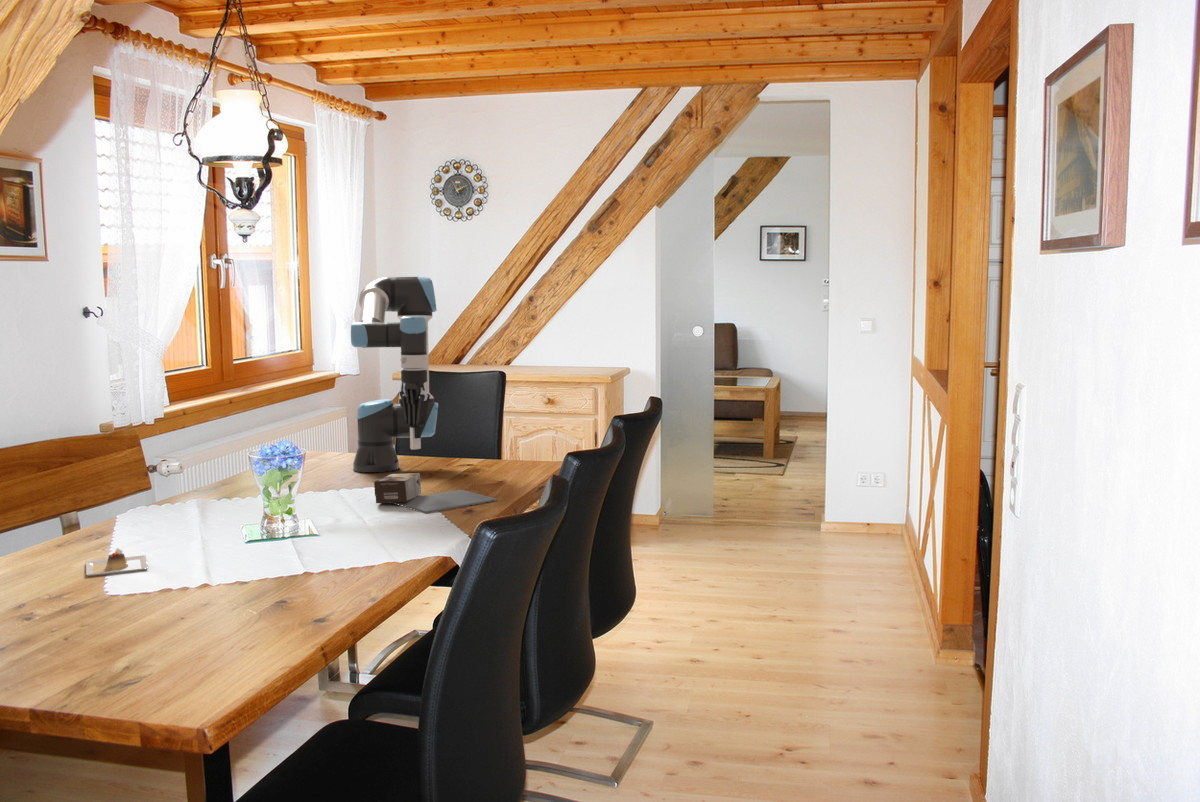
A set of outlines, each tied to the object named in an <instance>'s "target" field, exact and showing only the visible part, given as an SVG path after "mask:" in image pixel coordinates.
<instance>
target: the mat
mask: <svg viewBox="0 0 1200 802" xmlns="http://www.w3.org/2000/svg"><path fill="white" fill-rule="evenodd" d="M492 501H494V502H498V498H495V497H491V496H487V495H483V494H480V493H475V492H472V491H468V490H464V489H458V490H457V489H455V490H452V491H444V492H439V493H431V494H426V495H425V494H424V495H420V496H419V495H418V496H416V497H414V498H413V499H411V500H409V501H407V502H401V503H396V504H399V505H398V506H400V505H403V506H406V507H409V508H408V509H410V508H412V509H411V510H413V509H415V510H414V511H416V510H418V511H417V512H419V511H420V512H419V513H423V514H430V513H431V512H432V513H437V512H442V511H447V510H449V511H450V510H453V509H454V508H455V509H459V507H460V508H464V507H465V506H466V507H471V506H470V505H472V506H475V505H476V504H477V505H482V504H481V503H483V504H487V503H486V502H489V503H493V502H492ZM396 504H395V505H396ZM477 505H476V506H477ZM403 506H402V507H403ZM406 507H405V508H406ZM466 507H465V508H466ZM432 513H431V514H432Z"/></svg>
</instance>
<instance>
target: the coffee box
mask: <svg viewBox="0 0 1200 802" xmlns="http://www.w3.org/2000/svg"><path fill="white" fill-rule="evenodd" d="M421 483H422V482H421V474H420V473H418V472H417V473H391V474H388V475H387V476H384V477H382V478H379V479H377V480H376V481H374V482H373V485H374V496H375V504H393V503H401V502H407V501H409V500H411V499H413V498H414V497H418V496H419V495H420V496H421V494H422V487H421V486H422V485H421Z"/></svg>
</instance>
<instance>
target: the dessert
mask: <svg viewBox="0 0 1200 802" xmlns="http://www.w3.org/2000/svg"><path fill="white" fill-rule="evenodd" d="M135 560H137V561H138V560H139V562H140V568H135V569H134V568H132V569H126V568H128V567H129V564H128V562H127V561H135ZM101 564H102V565H103V564H106V566H105V570H107V572H99V573H94V569H93V568H94V566H95V565H101ZM93 565H94V566H93ZM124 569H125V570H124ZM148 569H149V564H148V561H147V556H146V555H144V554H143V555H133V556H125V553H123V550H122V549H120V548H119V547H117V548H116V549H115V551H114V552H113V553H112V554H111V553H110V554H109V555H108V557H107V558H105V559H104V558H103V559H95V560H87V561H85V576H87V577H97V576H105V575H115V574H116V575H117V574H121V573H123V574H124V573H130V572H131V573H133V572H140V571H141V572H142V571H146V570H148Z"/></svg>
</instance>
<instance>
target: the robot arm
mask: <svg viewBox="0 0 1200 802" xmlns="http://www.w3.org/2000/svg"><path fill="white" fill-rule="evenodd" d="M436 301H437V300H436V295H435V289H434V284H433V280H432V279H431V278H430V277H425V276H384V277H380V278H379V277H378V278H377V279H374V280H373V281H371V282H369V283H368V284H366V286H365V287H363V289H362V290H361V291H360V293H359V297H358V303H359V304H358V305H359V307H360V314H359V321H358V322H352V323H351V324H350V341H351V346H352V347H354V348H362V349H369V348H371V349H372V348H400V367H401V371H400V373H401V374H400V375H401V376H400V377H401V378H400V379H401V383H402V385H403V389H402V390H403V391H399V398H398V403H394V401H393V399H391V398H386V399H385V398H382V399H375V400H370V401H366V402H363V403H360V404H359V405H358V406H357V411H356V412H357V417H356V419H357V448H356V449H357V450H356V453H355V456H354V459H353V464H352V470H353V471H354V472H356V473H357V472H358V473H365V472H379V473H386V472H385V471H389V472H393V471H392V470H394V471H396V469H397V470H398V468H400V461H399V459H398V455H397V453H396V449H395V447H394V439H396V438H398V439H399V438H400V439H403V438H407V439H408V438H409V449H410V450H419V449H420V450H421V449H422V446H421V445H422V443H421V441H422V438H428V437H429V438H430V437H433V436H434V435H435V433H436V427H437V422H438V421H437V420H438V411H439V410H438V409H439V403H438V402H436V401H435V397H434V396H433V394H431V393H430V370H429V369H430V368H429V367H430V365H429V364H430V361H429V360H430V359H429V358H430V357H429V355H430V354H429V321H430V320H431V319H432V318H433V313H436V312H437V310H438V309H437V303H436ZM386 312H391V313H392V312H397V318H398V320H400V321H398V322H396V321H394V322H387V321H385V318H386Z"/></svg>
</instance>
